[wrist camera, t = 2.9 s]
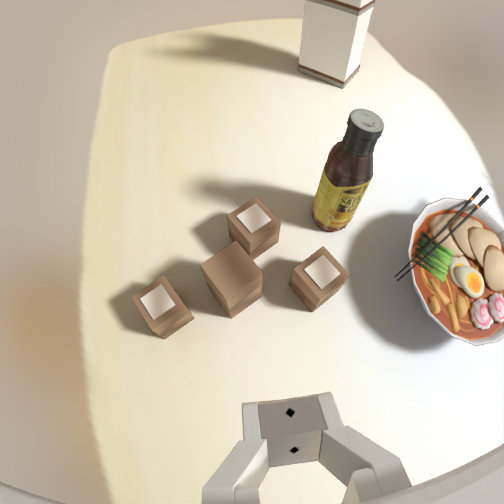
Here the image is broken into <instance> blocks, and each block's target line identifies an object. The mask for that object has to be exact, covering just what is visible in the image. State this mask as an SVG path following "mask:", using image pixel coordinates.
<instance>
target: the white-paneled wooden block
mask: <svg viewBox="0 0 504 504" xmlns="http://www.w3.org/2000/svg"><path fill="white" fill-rule="evenodd" d="M227 220H228V227H229V234H230V237H231V239H232V240H233V241H237V242H238V243H239V245H240V246H241V247H242V248H243V249H244V251H245V252H246V253H247V254H248V255H249V256H250V258H251V259H252V260H254V259H255V258H256V257H258V256H259V255H261V254H262V253H263V252H265V251H266V250H268V249H269V248H271V247H272V246H273V245H275V244H276V243H278V239H279V232H280V225H281V221H280V220H279V219H278V218H277V217H276V216H275V215H274V214H273V213H272V211H271V210H270V209H269V208H268V207H267V206H266V205H265V204H264V203H263V202H262V201H261V200H260V199H259V198H258V197H255V198H254V199H252V200H250V201H249V202H247V203H246V204H244V205H243V206H241V207H239V208H238V209H236V210H235V211H233V212H232V213H230V214H229V215H227Z"/></svg>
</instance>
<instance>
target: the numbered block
mask: <svg viewBox="0 0 504 504" xmlns="http://www.w3.org/2000/svg"><path fill="white" fill-rule="evenodd" d="M131 298H132V299H133V301H134V303H135V304H136V306H137V308H138V309H139V311H140V313H141V314H142V316H143V317H144V319H145V321H146V322H147V324H148V325H149V327H150V329H151V330H152V331H153V332H155V333H156V334H158V335H159V336H161V337H162V338H164V339H166V338H167V337H169V336H170V335H172V334H173V333H174V332H176V331H177V330H179V329H180V328H182V327H183V326H184V325H186V324H187V323H189V322H190V321H192V320H193V319H194V317H193V316H192V314H191V313H190V311H189V310H188V309H187V307H186V306H185V304H184V303H183V301H182V300H181V298H180V297H179V296H178V294H177V293H176V291H175V290H174V288H173V287H172V286H171V284H170V283H169V281H168V280H167V278H166V277H165V276H164V275H163V276H162V277H160V278H159V279H157V280H156V281H154V282H153V283H151V284H150V285H149V286H147V287H146V288H144V289H143V290H141V291H140V292H139V293H137V294H136V295H134V296H133V297H131Z"/></svg>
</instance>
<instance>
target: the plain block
mask: <svg viewBox="0 0 504 504" xmlns="http://www.w3.org/2000/svg"><path fill="white" fill-rule="evenodd" d="M200 266H201V269H202V271H203V274H204V276H205V279H206V281H207V284H208V286H209V289H210V291H211V292H212V293H213V295H214V296H215V297H216V299H217V300H218V301H219V303H220V304H221V305H222V307H223V308H224V309H225V311H226V312H227V313H228V315H229V316H230V317H231V318H233V317H235V316H236V315H237V314H239V313H240V312H241V311H243V310H244V309H246V308H247V307H248V306H250V305H251V304H252V303H254V302H255V301H256V300H258V299H259V298H260V297H261V295H262V282H263V272H262V271H261V270H260V268H259V267H258V266H257V265H256V264H255V262H254V261H253V260H252V259H251V258H250V256H249V255H248V254H247V253H246V252H245V251H244V249H243V248H242V247H241V246H240V245H239V243H238V242H237V241H234V242H233V243H231V244H230V245H229V246H227V247H226V248H224V249H223V250H221V251H220V252H218V253H217V254H215V255H214V256H212V257H211V258H210V259H208V260H207V261H205V262H204V263H202V264H201V265H200Z"/></svg>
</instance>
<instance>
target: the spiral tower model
mask: <svg viewBox="0 0 504 504" xmlns="http://www.w3.org/2000/svg"><path fill="white" fill-rule="evenodd" d="M374 3H375V0H305V5H304V16H303V26H302V36H301V46H300V56H299V65H298V71H300V72H302V73H305V74H308V75H310V76H313V77H315V78H318V79H320V80H323V81H325V82H328V83H330V84H332V85H335V86H337V87H339V88H342V89H343V88H344V87H345V86H346V84H347V83H348V82H349V81H350V80H351V79H352V78H353V77H354V76H355V74H356V73H357V72H358V71H359V67H360V65H359V62H360V58H361V54H362V50H363V46H364V42H365V37H366V33H367V29H368V24H369V20H370V15H371V12H372V11H373V8H374Z"/></svg>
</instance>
